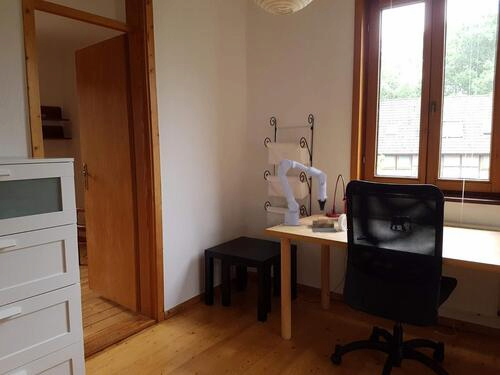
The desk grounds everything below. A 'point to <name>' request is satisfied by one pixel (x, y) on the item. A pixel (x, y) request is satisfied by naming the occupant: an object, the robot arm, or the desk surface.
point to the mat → (324, 230)
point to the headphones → (342, 222)
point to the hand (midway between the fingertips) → (322, 210)
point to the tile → (322, 219)
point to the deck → (323, 224)
